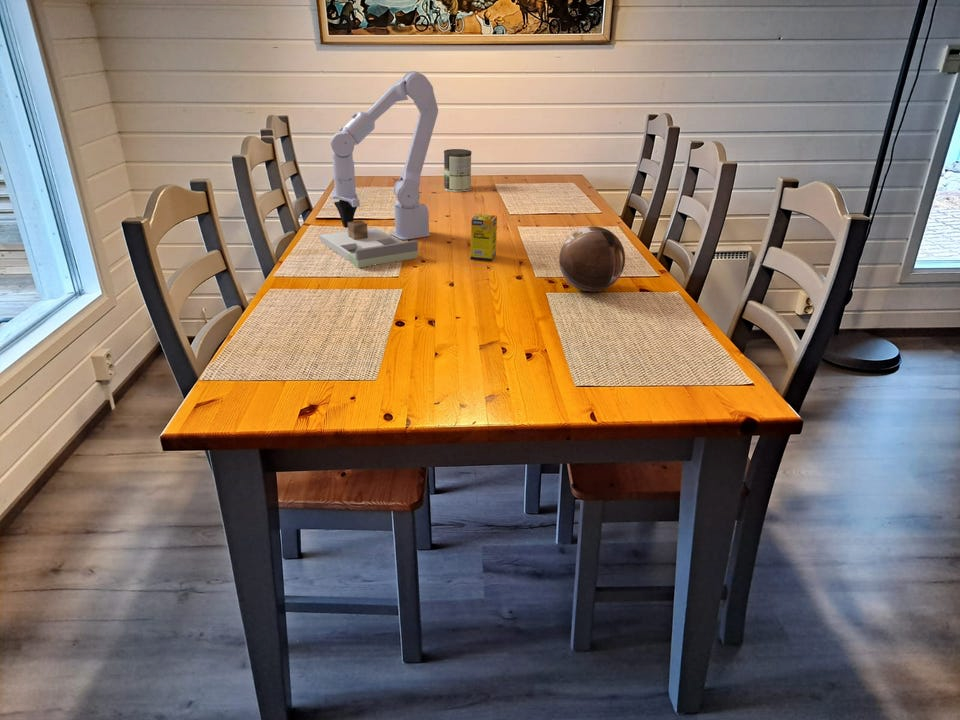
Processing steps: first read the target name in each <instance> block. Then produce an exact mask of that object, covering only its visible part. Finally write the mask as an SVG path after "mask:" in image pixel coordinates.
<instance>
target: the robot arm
mask: <svg viewBox="0 0 960 720" xmlns="http://www.w3.org/2000/svg"><path fill="white" fill-rule="evenodd" d="M409 98H410V99H411V100H412V101H413V103H414V105H415V106H416V108H417V110H418V116H417V121H416V124H415V127H414V129H413V130H414V131H413V135H412V138H411V142H410V145H409V150H408V154H407V157H406V161H405V163H404V168H403V170H402V171H401V173H400V177H399V179H398V180H397V181H396V182H395V184H394V187H393V192H394V195H395V196H396V198H397V199H396V201H395V202H394V204H393V206H394V231H390V232H389V235H390V236H392V237H394V238H396V239H398V240H400V241H405V240H406V241H407V240H412V239H417V238H419V239H420V238H425V237H430V236H431V234H430V214H429V209H428V207H427V205H426V204H424V203H420V202H419V201H420V199H421V197H420V194H421V193H420V191H419V190H420V185H421V175H422V171H423V167H424V164H425V161H426V157H427V153H428V149H429V145H430V142H431V139H432V136H433V131H434V128H435V124H436V121H437V117H438V115H439V108H438V103H437V100H436V96H435V92H434V87H433V85H432V84H431V82H430V80H429V78H428V77H426V76H425V74H422V73H420V72H418V71H414V70H413V71H408V72H407V73H405V74H404V76H403V77H401V78H399V79H398V80H396V81H395V82H394V83H393V84H392V85H390V86H389V88H387V90H386V91H385V92H384V93H383V94H382V95H380V97H379V98H378V99H377V100H376V101H375V102H374V104H372V105H371V106H370V107H369V109H368V110H366V111H358V112H357V113H356V112H354V113H353V114H352V115H351V119H350V120H349V121H348V122H347V123H346V124H345V125H344V126H343V127H342V126H340V127H339V128H338V130H339V132H336V133H334V135H333V136H332V138H331V140H330V146H331V150H332V159H333V160H332V171H333V173H332V174H333V182H334V185H333V187H334V189H332V194H331V195H330V197H331V199H333V200H336V199H337V200H338V201H334V202H333V204H334V206H335V207H336V209H337V211H338V214H339V217H340V220H341V224H342V226H343V228H346V229H348V222H353V221H354V219H355V218H354V217H355V213H356V211H357V208H359V207H361V204H360V203H361V202H360V198H358V194H357V192H356V191H357V190H356V189H357V188H356V176H355V175H356V173H355V161H354V158H353V156H354V155H353V153H354V149H355V146H357V145H359V144H360V143H361V142H362V141H364V139H366V137H368V135H369V134H371V133H372V132H373V131H374V130H375V125H376V124H375V123H376V121H377V120H378V119H380V117H381V116H382V115H384V114H385V113H386V112H387V111H388V110H389V109H390V108H392V106H394V105H395V104H396V103H398V102H403V101H408V100H409Z"/></svg>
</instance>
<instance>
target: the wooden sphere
mask: <svg viewBox="0 0 960 720" xmlns="http://www.w3.org/2000/svg"><path fill="white" fill-rule="evenodd" d="M558 257H559V258H558V259H559V260H558V261H559V269H560V271H561V274H562V277H563V278H564V280H565V281H566V282H567V283H568V284H569V285H570V286H572V287H574V288H575V289H577V290H579V291H581V290H584V291H583V292H585V291H598V292H601V291H604V290H606V289H608V288H610V287H612V286H613V285H614V284H615V283H616V282H617V281H618V280H619V279H620V277H621V275H622V274H623V271H624V268H625V264H626V253H625V249H624V247H623V244H622V242H621V240H620V239H619V237H617V235H616V234H615V233H613V232H612V231H610V230H609V229H606V228H604V227H601V226H585V227H582V228H580V229H578V230H576V231H574V232H573V233H571V234H570V235H569V236H568V237H567V238H566V239H565V240H564V242H563V244H562V246H561V249H560V251H559V255H558ZM600 290H601V291H600Z"/></svg>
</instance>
